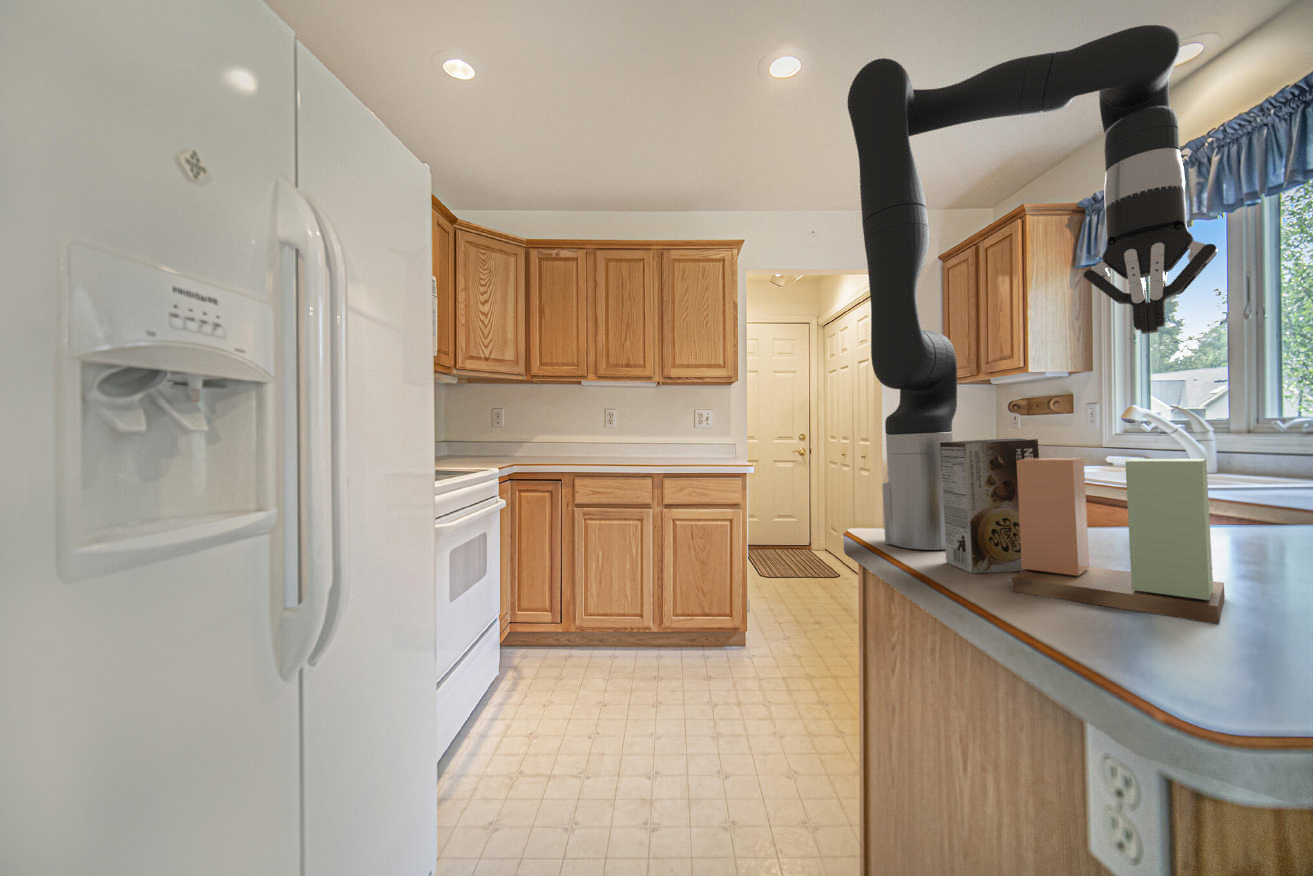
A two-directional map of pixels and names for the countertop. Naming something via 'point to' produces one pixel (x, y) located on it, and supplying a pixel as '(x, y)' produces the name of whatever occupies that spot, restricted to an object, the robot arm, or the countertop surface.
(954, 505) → the coffee box
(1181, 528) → the pale green block
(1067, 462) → the peach rectangular block
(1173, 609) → the brown wooden board
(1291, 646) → the countertop surface
